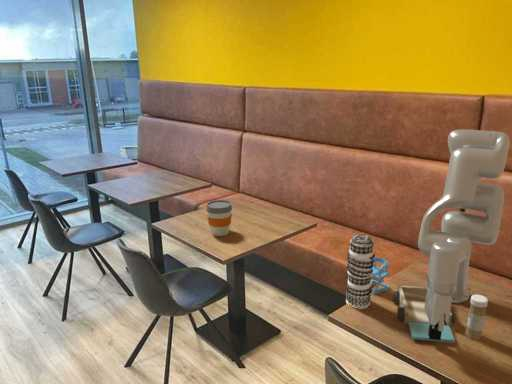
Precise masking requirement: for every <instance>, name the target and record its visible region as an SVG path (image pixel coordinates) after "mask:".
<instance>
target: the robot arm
mask: <svg viewBox="0 0 512 384" xmlns="http://www.w3.org/2000/svg"><path fill="white" fill-rule="evenodd" d="M510 143H511V142H510V137H509V135H508V134H507V133H506V132H502V131H495V130H482V129H481V130H479V129H468V128H466V129H455V130H452V131H450V132H449V134H448V137H447V146H448V150H449V154H450V157H449V160H448V161H449V163H448V168H447V173H446V179H445V183H444V184H445V185H444V189H443V194H442V196H441V197H440V199H438V200H436V202H434V203H433V204H432V205H431V206H430V207H429V208H428V209H427V210H426V212H425V214H424V215H423V218H422V221H421V223H420V224H421V225H420V230H419V235H418V239H417V240H418V241H417V246H418V249H419V251H420V252H421V253H423V254H425V255H426V254H427V255H430V257H429V265H428V274H427V283H426V287H427V288H428V289H427V294H426V299H425V306H424V307H425V311H426V314H427V317H428V320H429V322H430V324H432V325H429V332H428V336H429V339H433V340H440V339H441V333H442V331H443V328H444V324H445V325H446V326H447V325H448V324H449V320H450V312H451V311H452V309H451V308H452V304H463V303H466V302H467V301H468V300H469V299H470V293H469V291H468V290H467V289H466V286H467V279H468V273H469V267H470V261H471V260H470V259H471V253H472V247H473V245H472V243H475V244H476V243H477V244H482V245H487V246H489V245H491V246H492V245H495V244H496V242H497V240H498V238H499V234H500V228H501V221H502V214H503V209H504V203H505V202H504V201H505V192H504V189H503V187H502V186H501V185H499V184H495V183H489V182H482V178H485V179H493V180H497V179H499V178H500V177H501V176H502V175H503V173H504V170H505V167H506V164H507V160H508V159H507V158H508V154H509V149H510ZM454 208H459V209H462V210H463V209H464V210H471V211H477V212H483V213H484V214H485V215H483V214H477V213H476V214H475V213H472V212H465V211H458V210H454V211H453V210H452V211H447V212H446V213H444V214H443V215H442V218H441V223H440V224H441V230H437V229H432V225H433V222H434V219H435V218H436V217H437V216H438V215H439V214H441V213H442V212H445V211H446V210H451V209H454Z"/></svg>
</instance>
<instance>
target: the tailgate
mask: <svg viewBox="0 0 512 384" xmlns="http://www.w3.org/2000/svg"><path fill="white" fill-rule="evenodd" d="M406 323H407V324H409V325H408V327H409V331H410V335H411V339H412V340H418V341H425V342H426V341H429V342H438V343H451V344H455V341H456V340H455V337H454V334H453V333H452V330H451V326H450V324H448V325H447V326H446V325H445V324H444V328H443V331H442V333H441V339H440V340H433V339H429V336H428V332H429V325H432V324H430V322H420V321H408V320H407V321H406ZM407 324H406V325H407Z"/></svg>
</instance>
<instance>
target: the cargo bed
mask: <svg viewBox="0 0 512 384" xmlns="http://www.w3.org/2000/svg"><path fill="white" fill-rule="evenodd" d="M397 286H398V287H397V290H394V291H393V293H392V298H393V299H392V300H393V303H395V304H398V307H397V309H396V315H397V320H398V321H400V320H401V321H403V325H406V326H407V325H408V326H409V324H407V323H406V321H407V320H408V321H420V322H429V320H428V317H427V314H426V311H425V307H424V306H425V299H426V294H427V289H428V288H427V286H415V285H414V286H413V285H399V284H398V285H397ZM456 318H457V317H456V312H455V310H454V311H453V310H451V312H450V320H449V324H450V327H451V325H455V324H456V321H457V320H456Z"/></svg>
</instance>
